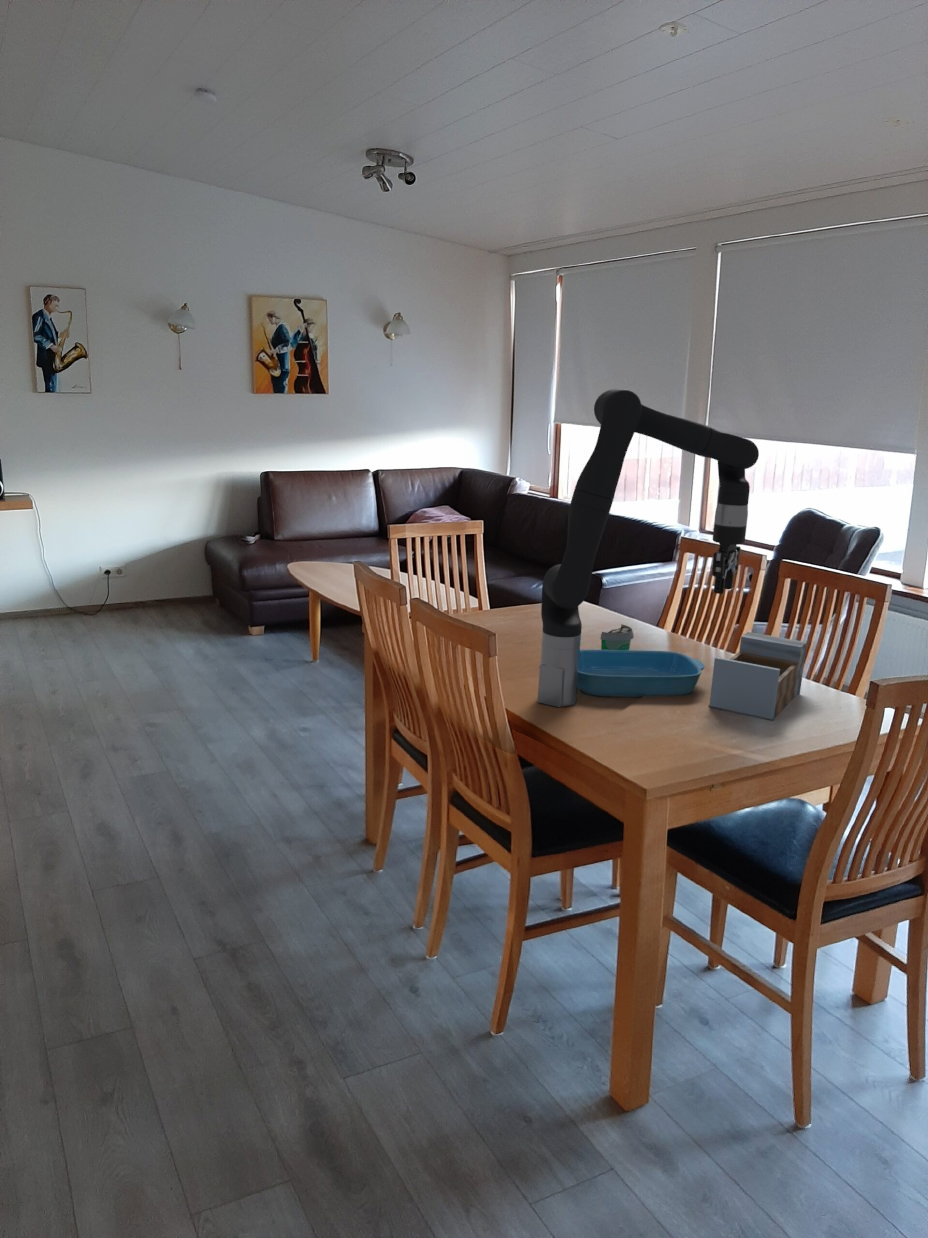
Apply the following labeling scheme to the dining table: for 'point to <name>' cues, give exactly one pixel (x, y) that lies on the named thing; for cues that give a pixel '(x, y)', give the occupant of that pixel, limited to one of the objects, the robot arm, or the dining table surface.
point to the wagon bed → (776, 662)
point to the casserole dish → (636, 673)
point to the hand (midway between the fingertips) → (722, 590)
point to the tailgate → (744, 688)
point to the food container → (617, 639)
